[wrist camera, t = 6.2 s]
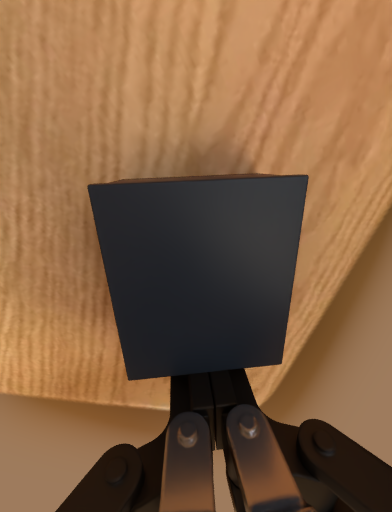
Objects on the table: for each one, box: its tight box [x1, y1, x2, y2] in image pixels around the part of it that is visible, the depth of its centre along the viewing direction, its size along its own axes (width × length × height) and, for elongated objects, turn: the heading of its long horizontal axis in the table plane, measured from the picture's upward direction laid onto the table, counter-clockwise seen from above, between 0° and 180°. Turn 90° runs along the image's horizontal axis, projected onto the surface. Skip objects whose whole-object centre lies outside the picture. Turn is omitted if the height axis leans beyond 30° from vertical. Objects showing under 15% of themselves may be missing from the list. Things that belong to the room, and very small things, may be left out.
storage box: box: [88, 174, 308, 381], centre depth 8 cm, size 7×6×4 cm
